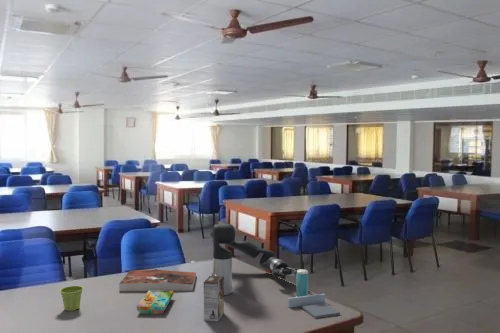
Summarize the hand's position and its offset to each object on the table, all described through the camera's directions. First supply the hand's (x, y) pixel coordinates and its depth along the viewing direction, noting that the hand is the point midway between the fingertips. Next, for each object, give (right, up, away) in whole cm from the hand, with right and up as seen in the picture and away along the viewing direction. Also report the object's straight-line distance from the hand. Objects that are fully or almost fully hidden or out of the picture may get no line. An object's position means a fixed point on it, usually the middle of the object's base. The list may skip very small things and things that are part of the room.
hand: (292, 276), depth 216 cm
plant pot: (-99, -8, -24) cm, 102 cm away
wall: (+5, -8, -18) cm, 20 cm away
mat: (+9, -9, -25) cm, 28 cm away
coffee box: (-36, -9, -32) cm, 49 cm away
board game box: (-68, -7, +11) cm, 69 cm away
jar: (+4, -8, -9) cm, 13 cm away
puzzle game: (-63, -8, -21) cm, 66 cm away
